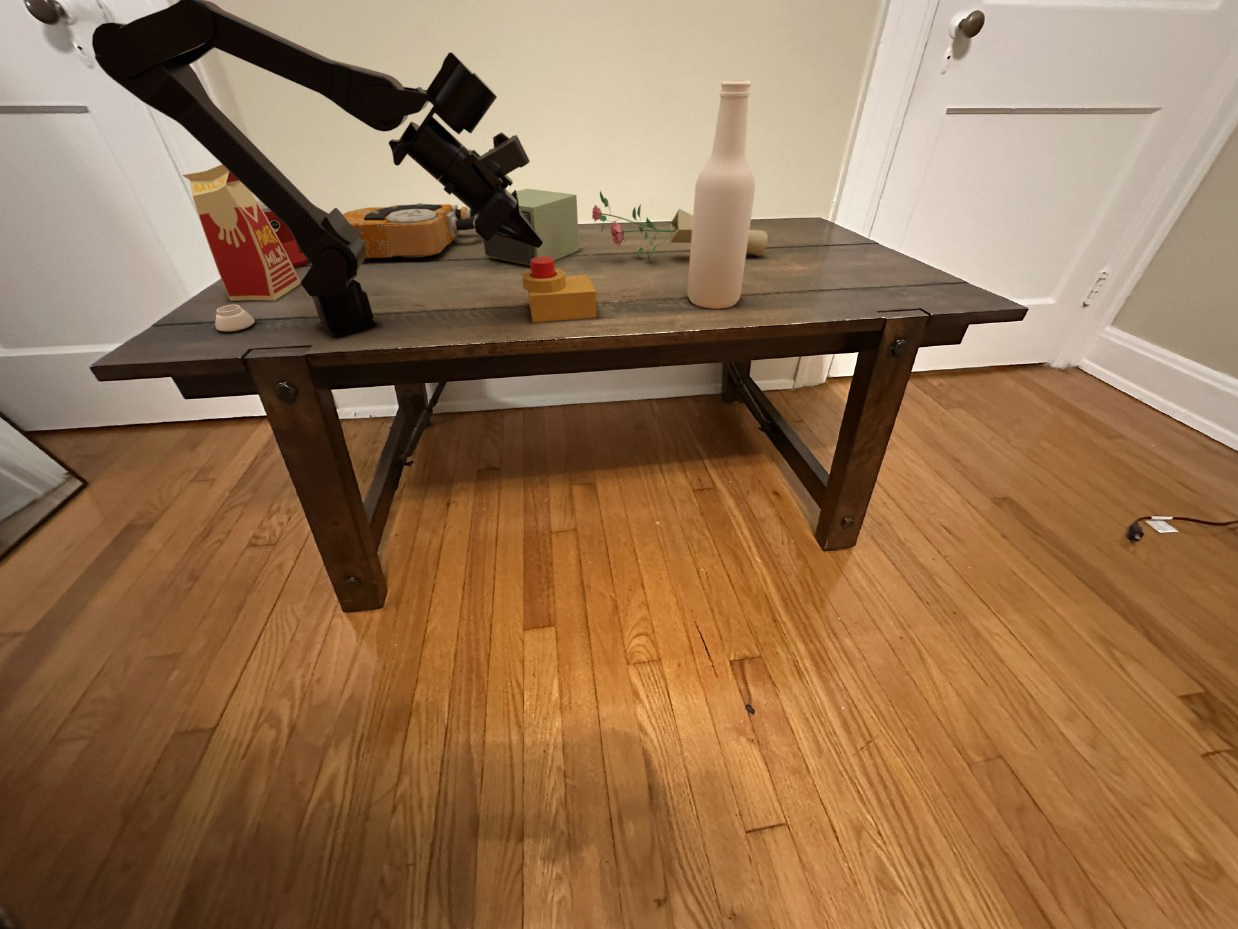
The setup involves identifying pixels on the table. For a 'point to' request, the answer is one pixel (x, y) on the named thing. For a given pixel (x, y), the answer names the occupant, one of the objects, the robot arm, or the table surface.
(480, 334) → the table surface
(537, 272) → the button
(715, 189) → the alcohol
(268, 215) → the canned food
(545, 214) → the drawer cabinet
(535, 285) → the control block
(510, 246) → the dark grey drawer
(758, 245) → the flower vase
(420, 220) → the device
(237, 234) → the milk carton
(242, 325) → the lidless jar
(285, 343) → the table surface
